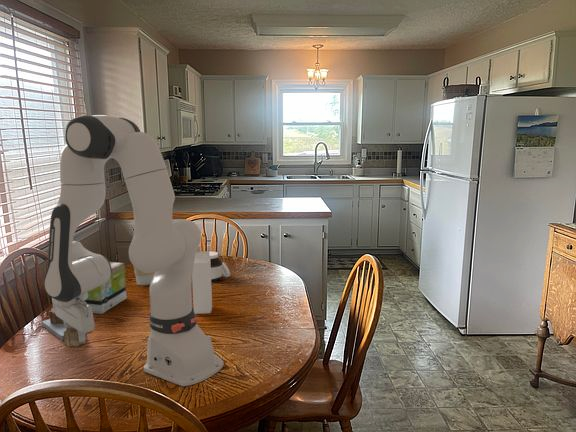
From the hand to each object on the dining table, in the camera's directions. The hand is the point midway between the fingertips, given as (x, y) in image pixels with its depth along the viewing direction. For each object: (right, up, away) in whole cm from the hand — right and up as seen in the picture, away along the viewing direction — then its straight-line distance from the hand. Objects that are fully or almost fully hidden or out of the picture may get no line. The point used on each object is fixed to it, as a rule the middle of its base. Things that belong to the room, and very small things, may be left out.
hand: (75, 337), depth 128 cm
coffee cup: (+4, +8, +51) cm, 52 cm away
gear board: (-8, 0, +9) cm, 12 cm away
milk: (+34, +3, +23) cm, 42 cm away
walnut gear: (-11, +2, +12) cm, 16 cm away
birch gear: (0, -2, 0) cm, 2 cm away
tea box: (-4, +4, +28) cm, 28 cm away
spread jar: (+33, +9, +57) cm, 66 cm away
